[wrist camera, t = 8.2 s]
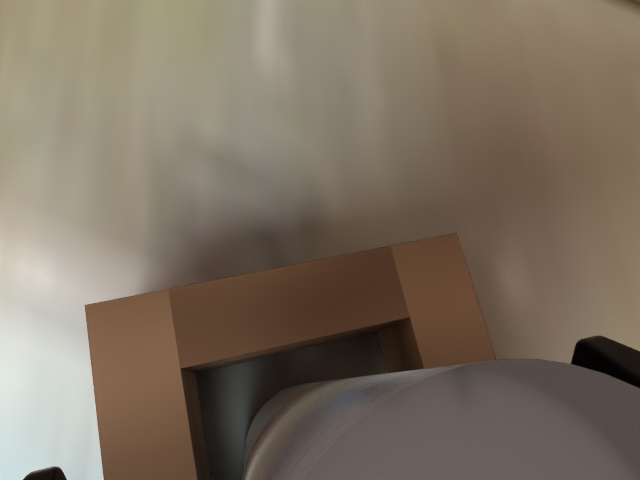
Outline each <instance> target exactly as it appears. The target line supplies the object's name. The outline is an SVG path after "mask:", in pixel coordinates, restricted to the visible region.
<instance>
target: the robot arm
mask: <svg viewBox="0 0 640 480" xmlns="http://www.w3.org/2000/svg"><path fill="white" fill-rule="evenodd" d="M571 364H573V365H576V366H580V367H583V368H587V369H590V370H594V371H598V372H601V373H605V374H607V375H610V376H612V377H614V378H617V379H619V380H621V381H624V382H626V383H628V384H630V385H633V386H635V387H637V388H640V351H637V350H635V349H633V348H630V347H628V346H625V345H623V344H620V343H618V342H616V341H613V340H611V339H608V338H606V337H603V336H593V337H588V338H584V339H581V340H579V341H578V342H577V343H576V346H575V349H574V353H573V357H572V361H571ZM23 480H67V479H66V477H65V475H64V473H63V471H62V470H61V469H60V468H59V467H50V468H46V469H41V470H37V471H34V472H31V473H29V474H28V475H27V476H26V477H25V478H24V479H23Z"/></svg>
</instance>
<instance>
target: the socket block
mask: <svg viewBox="0 0 640 480" xmlns="http://www.w3.org/2000/svg"><path fill="white" fill-rule="evenodd" d="M85 312H86V321H87V330H88V339H89V348H90V357H91V366H92V375H93V385H94V394H95V403H96V412H97V421H98V430H99V439H100V448H101V458H102V467H103V476H104V480H212V475H211V469H210V463H209V456H208V450H207V444H206V438H205V432H204V425H203V419H202V413H201V407H200V400H199V394H198V388H197V382H196V375H195V373H198V372H202V371H207V370H211V369H216V368H220V367H224V366H229V365H233V364H238V363H242V362H246V361H251V360H255V359H260V358H264V357H268V356H273V355H277V354H282V353H286V352H290V351H295V350H299V349H304V348H308V347H312V346H317V345H321V344H326V343H330V342H335V341H339V340H343V339H348V338H352V337H357V336H361V335H365V334H370V333H374V332H378V333H379V337H380V341H381V345H382V349H383V353H384V357H385V361H386V365H387V368H388V372H389V373H394V372H402V371H411V370H419V369H427V368H436V367H444V366H452V365H460V364H469V363H477V362H485V361H494V360H496V357H495V354H494V351H493V348H492V345H491V341H490V338H489V335H488V332H487V329H486V325H485V322H484V319H483V316H482V313H481V309H480V306H479V303H478V300H477V296H476V293H475V290H474V287H473V284H472V280H471V277H470V274H469V271H468V268H467V264H466V261H465V258H464V255H463V252H462V248H461V245H460V242H459V239H458V236H457V233H455V234H449V235H444V236H439V237H434V238H429V239H424V240H418V241H413V242H408V243H403V244H398V245H393V246H388V247H382V248H377V249H372V250H367V251H362V252H357V253H351V254H346V255H341V256H336V257H331V258H326V259H320V260H315V261H310V262H305V263H300V264H295V265H289V266H284V267H279V268H274V269H269V270H264V271H258V272H253V273H248V274H243V275H238V276H233V277H228V278H222V279H217V280H212V281H207V282H202V283H197V284H191V285H186V286H181V287H176V288H171V289H166V290H160V291H155V292H150V293H145V294H140V295H135V296H129V297H124V298H119V299H114V300H109V301H104V302H99V303H93V304H88V305H85Z"/></svg>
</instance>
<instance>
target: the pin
mask: <svg viewBox="0 0 640 480" xmlns="http://www.w3.org/2000/svg"><path fill="white" fill-rule="evenodd" d="M242 480H640V388H637V387H635V386H633V385H630V384H628V383H626V382H624V381H621V380H619V379H617V378H614V377H612V376H610V375H607V374H605V373H601V372H598V371H594V370H590V369H587V368H583V367H580V366H576V365H573V364H567V363H560V362H553V361H546V360H539V359H502V360H494V361H485V362H477V363H469V364H460V365H452V366H444V367H436V368H427V369H419V370H411V371H402V372H394V373H386V374H378V375H369V376H361V377H353V378H344V379H336V380H328V381H320V382H311V383H304V384H297V385H294V386H290V387H288V388H286V389H284V390H282V391H280V392H278V393H277V394H275V395H274V396H273V397H271V398H270V399H269V400H268V401H267V402H266V403H265V404H264V405H263V406H262V407H261V409H260V410H259V411H258V413H257V414H256V416H255V418H254V419H253V421H252V423H251V426H250V428H249V431H248V434H247V438H246V444H245V453H244V465H243V477H242Z"/></svg>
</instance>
